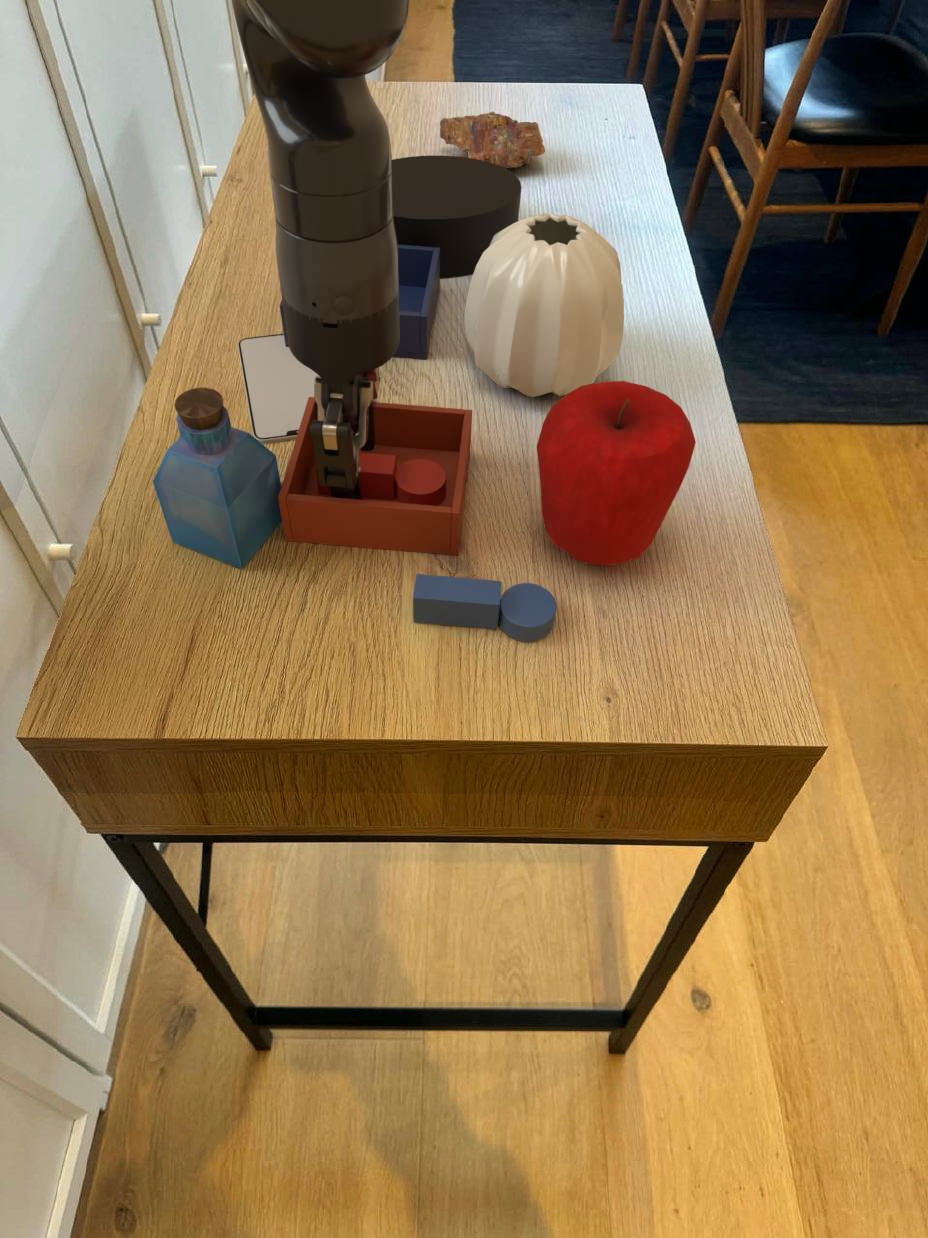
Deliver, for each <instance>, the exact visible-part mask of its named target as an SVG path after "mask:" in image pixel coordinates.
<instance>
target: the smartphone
mask: <svg viewBox="0 0 928 1238" xmlns="http://www.w3.org/2000/svg"><path fill="white" fill-rule="evenodd" d="M237 349H238V355H239V361H240V367H241V373H242V378H243V379H242V380H243V385H244V391H245V396H246V402H247V411H248V418H249V420H250V425H251V431H252V436H253V437H254V438H256V439H257V440H258V441H259V442H260V443H262V444H263V445H265V444H272V443H280V442H289V441H294V440H295V441H296V437H297V434H298V431H299V427H300V424H301V421H302V418H303V414H304V411H305V408H306V404H307V401H308V398H309V397H314V381H315V377H316V376H319V375H318V374H316V373H315V372H314V371H312V370H311V369H309V368H308V367H306V366H304V365H303V364H302V363H300V362H299V361H298V360H297V359H296V358H295V357H294V356H293V354H292V352H291V351H290V348H289V347H286V346H285V339H284V333H277V334H268V335H259V336H250V337H244V338H242V339H240V340H239V341H237Z"/></svg>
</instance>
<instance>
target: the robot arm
mask: <svg viewBox="0 0 928 1238" xmlns="http://www.w3.org/2000/svg"><path fill="white" fill-rule="evenodd" d="M230 2H231V6H232V11H233V16H234V20H235V24H236V28H237V33H238V37H239V41H240V44H241V48H242V53H243V56H244V60H245V65H246V67H247V71H248V75H249V78H250V82H251V86H252V90H253V93H254V96H255V100H256V102H257V106H258V109H259V112H260V116H261V120H262V124H263V127H264V133H265V137H266V145H267V164H268V170H269V176H270V178H269V179H270V186H271V194H272V201H273V202H272V203H273V209H274V218H275V219H274V220H275V257H276V264H277V265H276V266H277V271H278V272H277V273H278V280H279V286H280V295H281V300H282V303H283V310H284V317H285V325H286V332H287V340H288V345H289V348H290V351H291V352H292V354H293V356H294V357H295V358H296V359H297V360H298V361H299V362H300V363H302V364H303V365H304V366H306V367H308V368H309V369H311V370H312V371H314V372H315V373H316V374H318V375H319V376H316V377H315V381H314V399H315V402H316V403H317V405H318V420H313V421H312V425H311V426H310V433H311V437H312V443H313V449H314V455H315V461H316V467H317V473H318V481H319V485H320V486H330V491H331V497H334V498H346V499H358V500H362V489H361V475H360V473H361V472H362V466H361V451H372V450H373V449H374V446H375V425H374V409H375V406H376V405H377V402H378V398H379V389H380V385H381V377H380V367H383V366H384V365H385V364H386V363H388V362H389V361H390V360H391V359H392V358H394V357H393V355H394V354H395V352H396V351H397V349H398V346H399V341H400V324H399V274H398V245H397V238H396V232H395V226H394V218H393V185H392V160H393V156H392V155H393V153H392V144H391V137H390V131H389V127H388V125H387V121H386V119H385V117H384V116H383V113H382V112H381V109H380V108H379V107H378V105H377V103H376V102H375V100H374V97H373V95H372V94H371V91H370V88H369V86H368V83H367V78H366V75H368V74H370V73H372V72H374V71H376V70H378V69H379V68H381V67H382V66H383V65H384V64H385V63H386V62H387V61H388V60H389V59H390V57H392V56H393V54H394V52H395V51H396V50H397V48H398V46H399V44H400V42H401V40H402V37H403V36H404V32H405V28H406V25H407V22H408V16H409V8H410V7H409V6H410V5H409V4H410V0H230Z"/></svg>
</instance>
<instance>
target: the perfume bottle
mask: <svg viewBox="0 0 928 1238" xmlns="http://www.w3.org/2000/svg"><path fill="white" fill-rule="evenodd" d="M173 405H174V409H175V411H176V413H177V414H176V420H175V421H176V424H177V428H178V432H179V438H178V439H176V440H175V442H173V443H172V444H171V445H170V446H169V447H168V448H167V449H166V451H165V454H164V456H163V458H162V459H161V462H160V464H159V466H158V469H157V471H156V473H155V474H154V478H153V479H152V484H153V486H154V491H155V493H156V496H157V499H158V502H159V506H160V508H161V512H162V515H163V518H164V521H165V523H166V527H167V529H168V533H169V537H170V539H171V543H173V544H176V545H179V546H180V547H184V548H186V549H189V550H191V551H193V552H195V553H196V552H197V553H198V554H201V555H204V556H206V557H209V558H211V559H214V560H217V561H218V562H222V563H224V564H227V565H229V566H231V567H235V568H236V569H239V570H243V569H244V568H245V567H246V565H247V564H248V563H249V562H250V561H251V559H252V558H253V557H254V556H255V555H256V553H258V552H259V550H260V549H261V548H262V546H263V545H264V544H265V542H266V541H267V540H268V539H269V538H271V536H272V534H273V533H274V532H275V531H276V530H277V528H278V527H279V526H280V525H281V524H282V518H281V512H280V507H279V502H278V496H279V493H280V490H281V487H282V482H281V476H280V470H279V466H278V459H277V455H276V454H275V453H273V451H272V450H270V449H269V448H268V447H267V446H265V444H262V443H260V442H259V441H258V440H257V439H256V438H254V437H253V434H251V433H250V432H247V431H245V430H242V429H239V428H236V427H233V426H232V423H231V419H230V414H229V410H228V409H227V408H226V406H225V405H224V398H223V395H222V394H221V393H220V392H219V391H217V390H215V389H213V388H209V387H195V388H190V389H187V390H185V391H184V392H183V391H182V393H181V394H179V395H178V396H177V397H176V399H175V400H174V404H173Z"/></svg>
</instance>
